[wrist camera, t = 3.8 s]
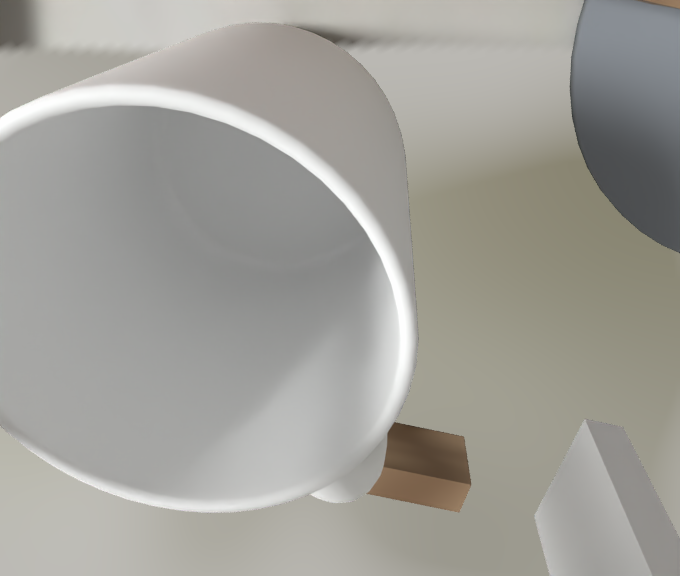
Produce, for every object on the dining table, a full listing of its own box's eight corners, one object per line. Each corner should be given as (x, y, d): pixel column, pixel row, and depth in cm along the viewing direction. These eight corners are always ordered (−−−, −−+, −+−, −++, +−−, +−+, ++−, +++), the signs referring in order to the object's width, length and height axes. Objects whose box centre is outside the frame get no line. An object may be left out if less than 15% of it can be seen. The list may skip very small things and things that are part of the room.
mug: (481, 312, 21) (549, 577, 12) (277, 382, 23) (205, 650, 14) (335, -38, 16) (265, -33, 7) (93, 93, 18) (-194, 224, 9)
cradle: (-43, 361, 24) (-87, 401, 22) (-134, -250, 15) (-226, -287, 12) (453, 463, 24) (459, 512, 22) (667, -62, 15) (713, -65, 13)
